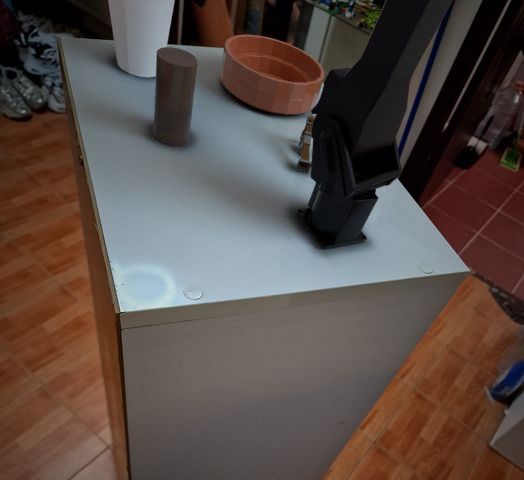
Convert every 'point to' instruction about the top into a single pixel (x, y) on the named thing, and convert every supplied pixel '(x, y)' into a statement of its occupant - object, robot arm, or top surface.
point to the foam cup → (140, 33)
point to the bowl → (271, 74)
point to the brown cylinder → (174, 95)
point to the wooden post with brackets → (305, 145)
